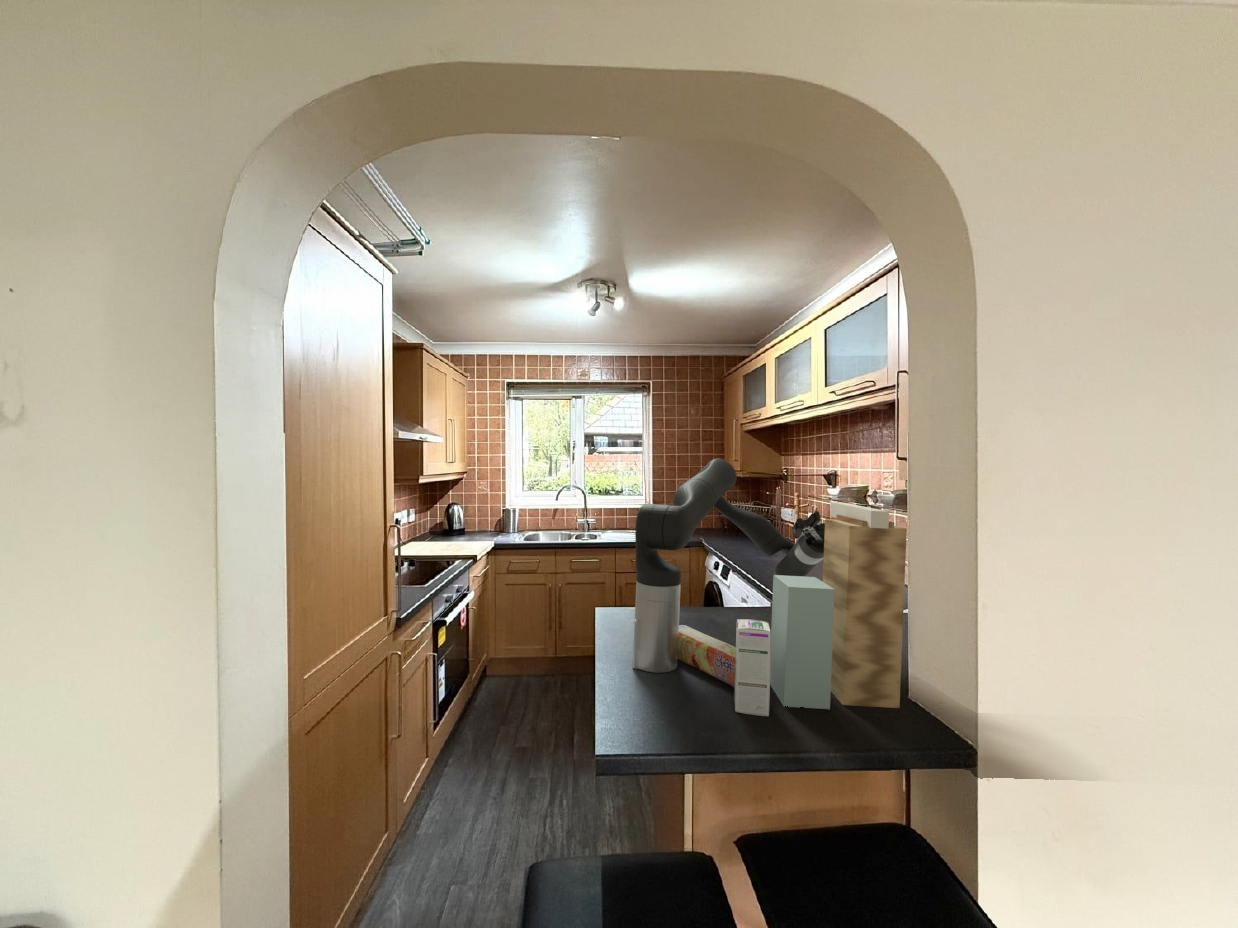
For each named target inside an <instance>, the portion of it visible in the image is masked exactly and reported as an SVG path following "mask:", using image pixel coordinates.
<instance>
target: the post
mask: <svg viewBox="0 0 1238 928" xmlns="http://www.w3.org/2000/svg"><path fill="white" fill-rule="evenodd" d="M772 581H773V582H772V599H771V600H772V601H771V602H772V603H771V628H770V631H771V643H770V688H772V690H773V692H774V693H775V695H776V696H777V698H778V700H779V701H780V703H781V704H782V706H783V707H785V706H786V707H785V708H800V707H804V708H803V709H805V708H806V709H819V710H820V709H821V710H822V709H823V710H830V709H831V696H832V695H831V694H832V692H831V670H832V646H833V621H834V596H835V589H834V588H832V587H830V586H829V585H827V584H825V583H824V582H823V580H821V579H819V578H818V577H816V576H805V577H804V576H784V575H776V574H773V579H772ZM787 706H788V707H787Z"/></svg>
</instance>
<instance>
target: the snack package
mask: <svg viewBox="0 0 1238 928" xmlns="http://www.w3.org/2000/svg"><path fill="white" fill-rule="evenodd" d="M677 660H679V661H681V662H683V663H685V664H687V665H688V666H691V667H693V668H696V669H697V670H700V671H702V672H703V673H705V674H707V675H709V676H712V677H714V678H715V679H718V680H720V681H721V682H724V683H726V684H727V685H729V686H730V687H733V688H734V689H735V661H736V646H734V645H731V644H729V643H727V642H726V641H725V642H724V640H723V641H722V640H719V639H718V638H716V637H712V636H710V635H708V634H706V633H703V632H701V631H699V630H696V629H694V628H692V627H690V626H688V625H685V624H681V625H680V624H679V636H678V659H677Z"/></svg>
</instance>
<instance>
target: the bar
mask: <svg viewBox="0 0 1238 928" xmlns="http://www.w3.org/2000/svg"><path fill="white" fill-rule="evenodd" d="M836 515H843V516H847V517H852V518H856V519H860V520H864V521H867V527H870V528H885V529H888V528H889V521H890V520H889V519H890V511H888V510H882V509H877V508H873V507H868V506H863V505H859V504H854V503H853V504H852V503H848V502H835V501H832V502H831V501H830V517H834V518H836Z"/></svg>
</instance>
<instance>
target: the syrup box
mask: <svg viewBox="0 0 1238 928" xmlns="http://www.w3.org/2000/svg"><path fill="white" fill-rule="evenodd" d="M735 632H736V634H735V637H736V638H735V647H736V661H735V688H734V711H735V712H736V713H740V714H746V715H752V716H759V717H760V716H761V717H769V715H770V698H771V697H770V695H771V693H770V690H771V689H770V688H771V685H770V647H771V628H770V622H768V621H764V620H758V619H748V618H747V619H739V618H738V619H737V618H736V630H735Z"/></svg>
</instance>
